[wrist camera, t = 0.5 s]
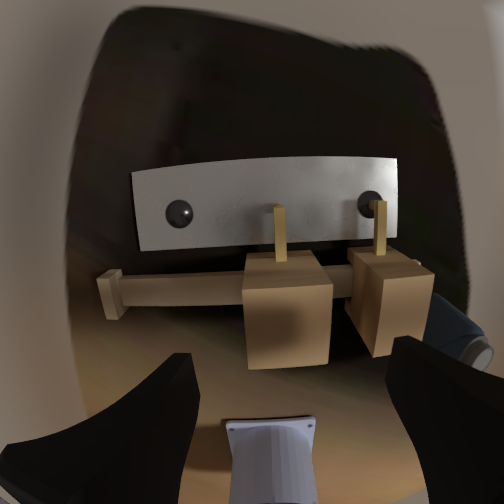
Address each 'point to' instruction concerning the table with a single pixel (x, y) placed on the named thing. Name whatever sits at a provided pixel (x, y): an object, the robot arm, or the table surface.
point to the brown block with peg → (286, 305)
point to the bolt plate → (262, 201)
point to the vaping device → (456, 334)
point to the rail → (191, 288)
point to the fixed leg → (387, 290)
